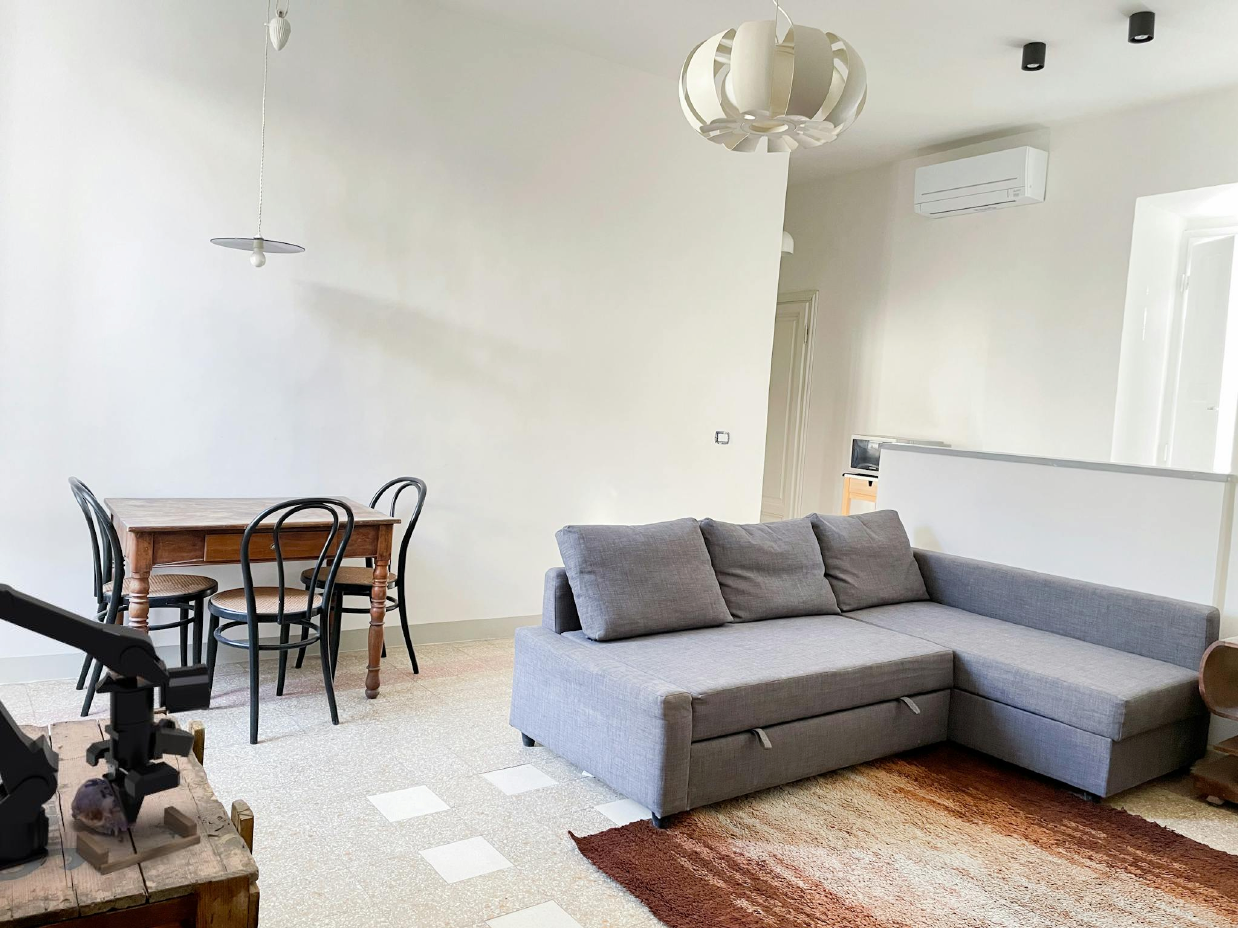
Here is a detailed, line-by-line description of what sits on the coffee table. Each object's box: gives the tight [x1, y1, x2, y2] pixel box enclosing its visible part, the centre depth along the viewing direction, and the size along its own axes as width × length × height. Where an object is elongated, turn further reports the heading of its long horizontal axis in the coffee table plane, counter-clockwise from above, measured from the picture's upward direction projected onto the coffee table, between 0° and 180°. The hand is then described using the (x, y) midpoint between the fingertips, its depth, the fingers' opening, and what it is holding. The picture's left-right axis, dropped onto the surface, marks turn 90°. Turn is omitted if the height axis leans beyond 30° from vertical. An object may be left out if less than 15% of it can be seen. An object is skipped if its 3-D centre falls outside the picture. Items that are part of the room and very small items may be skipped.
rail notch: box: [75, 805, 201, 876], centre depth 132 cm, size 13×9×2 cm
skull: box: [70, 777, 137, 836], centre depth 138 cm, size 12×8×6 cm, turn 50°
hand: (131, 821), depth 135 cm, fingers closed
